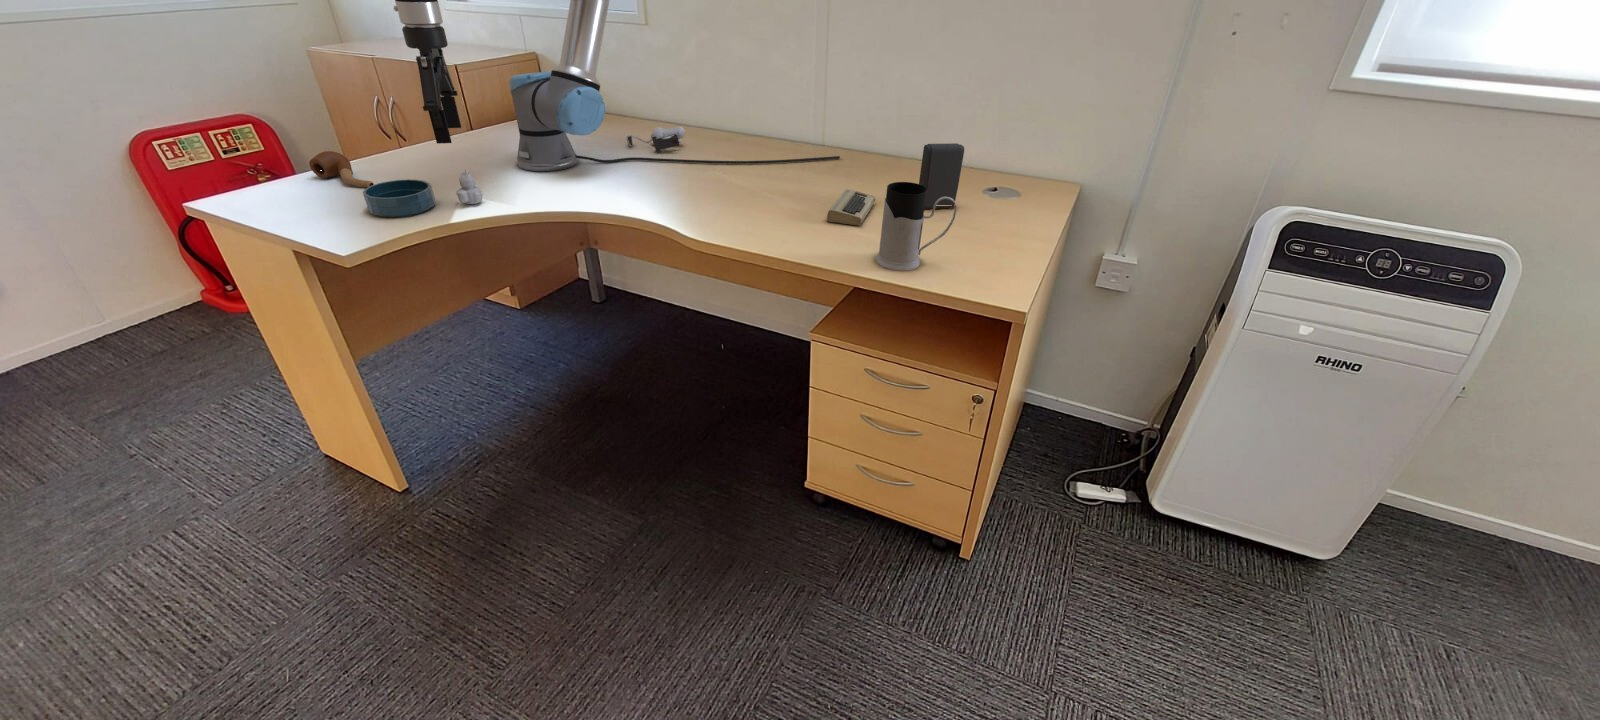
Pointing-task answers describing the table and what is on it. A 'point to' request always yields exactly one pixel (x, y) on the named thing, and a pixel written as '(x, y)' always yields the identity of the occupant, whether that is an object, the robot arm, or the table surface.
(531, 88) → the robot arm
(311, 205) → the table surface
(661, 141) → the clip-on lamp
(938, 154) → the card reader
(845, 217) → the computer
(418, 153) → the table surface
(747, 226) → the table surface
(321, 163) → the pipe
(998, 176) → the table surface
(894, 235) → the glass holder
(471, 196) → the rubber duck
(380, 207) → the bowl
